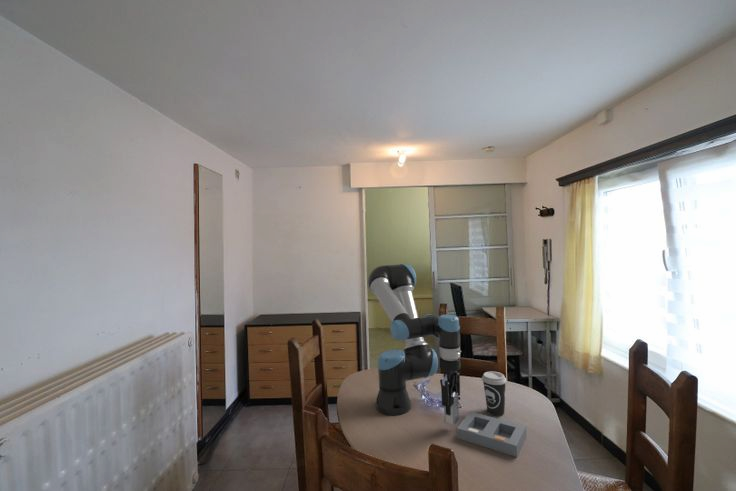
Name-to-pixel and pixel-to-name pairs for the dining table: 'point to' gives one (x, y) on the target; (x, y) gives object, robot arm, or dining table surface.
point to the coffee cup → (494, 392)
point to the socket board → (492, 433)
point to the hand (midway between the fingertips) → (452, 419)
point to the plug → (454, 407)
